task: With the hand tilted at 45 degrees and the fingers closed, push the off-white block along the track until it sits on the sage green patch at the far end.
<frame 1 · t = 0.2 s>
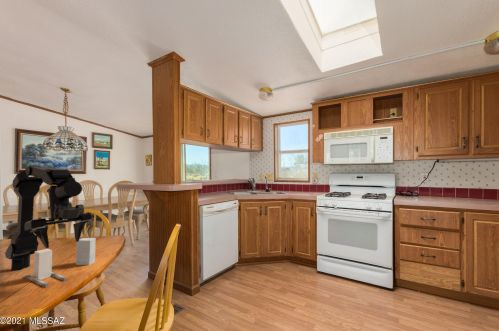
hand: (63, 244, 84), 16 cm above the table, tool pointing down, fingers open, 9 cm apart
track: (45, 282, 88), on the table
slider block: (42, 264, 90), point 6 cm above the table, slide at 0.0 cm
skincare box: (85, 266, 104), on the table
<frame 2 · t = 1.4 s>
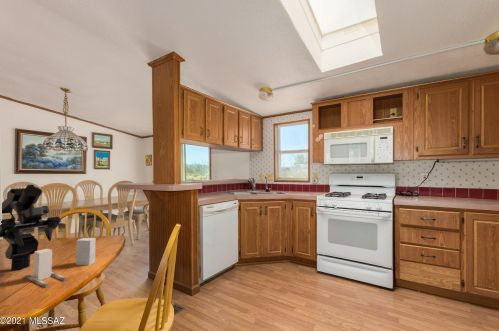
hand: (36, 242, 93), 13 cm above the table, tool tilted 45°, fingers open, 8 cm apart
nothing on the table moved.
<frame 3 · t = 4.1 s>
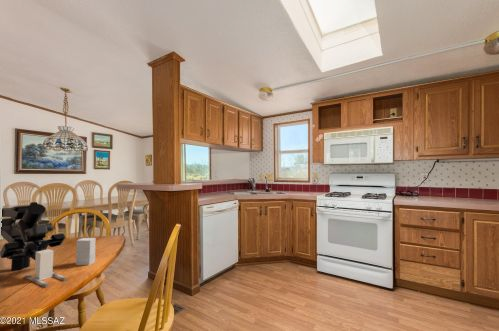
hand: (41, 262, 91), 7 cm above the table, tool tilted 45°, fingers closed, pressing on slider block
slider block: (44, 264, 89), point 6 cm above the table, slide at 1.0 cm, touching gripper
everything else where it was.
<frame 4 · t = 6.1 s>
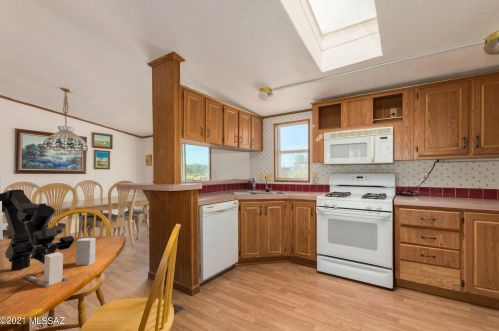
hand: (50, 266, 87), 7 cm above the table, tool tilted 45°, fingers closed
slider block: (53, 268, 86), point 6 cm above the table, slide at 8.3 cm
everything else where it was.
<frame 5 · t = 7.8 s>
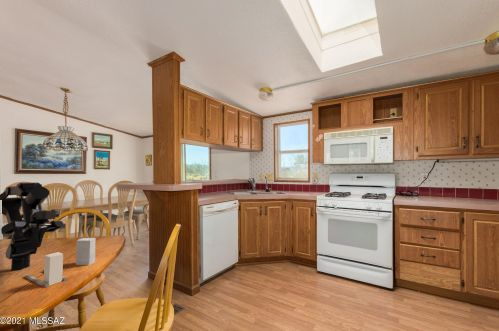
hand: (38, 247, 90), 13 cm above the table, tool tilted 30°, fingers closed
nothing on the table moved.
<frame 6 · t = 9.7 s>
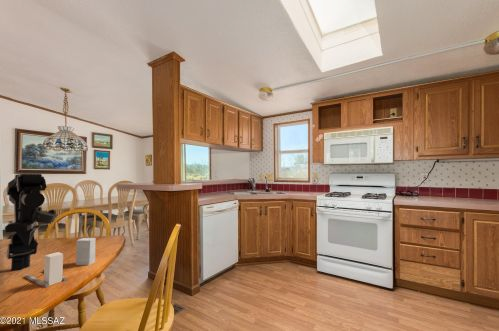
hand: (27, 245, 91), 13 cm above the table, tool pointing down, fingers closed
nothing on the table moved.
at the end: slider block slide at 8.3 cm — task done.
